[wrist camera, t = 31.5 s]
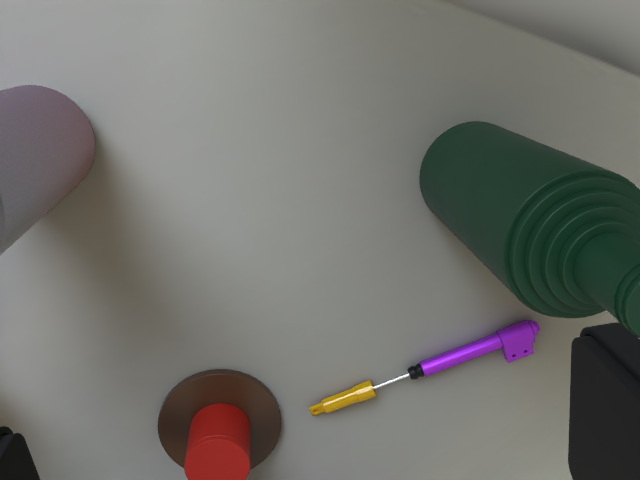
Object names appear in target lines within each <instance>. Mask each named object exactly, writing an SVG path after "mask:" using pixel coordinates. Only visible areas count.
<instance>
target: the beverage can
mask: <svg viewBox="0 0 640 480" xmlns="http://www.w3.org/2000/svg"><path fill="white" fill-rule="evenodd" d="M94 157H95V137H94V133H93V130H92V127H91V124H90V122H89V120H88V119H87V117H86V115H85V114H84V113H83V111H82V110H81V109H80V108H79V107H78V106H77V105H76V104H75V103H74V102H73V101H72V100H71V99H69V98H68V97H67V96H65V95H63V94H62V93H60V92H58V91H55V90H53V89H50V88H47V87H43V86H36V85H24V86H18V87H14V88H10V89H6V90H2V91H0V255H1V254H2V253H3V252H4V251H5V250H7V249H8V248H9V247H10V246H11V245H12V244H13V243H14V242H15V241H16V240H18V239H19V238H20V237H21V236H22V235H23V234H24V233H25V232H26V231H27V230H29V229H30V228H31V227H32V226H33V225H34V224H35V223H36V222H37V221H38V220H39V219H41V218H42V217H43V216H44V215H45V214H46V213H47V212H48V211H49V210H50V209H52V208H53V207H54V206H55V205H56V204H57V203H58V202H59V201H60V200H61V199H63V198H64V197H65V196H66V195H67V194H68V193H69V192H70V191H71V190H72V189H74V188H75V187H76V186H77V185H78V184H79V183H80V182H81V181H82V180H83V179H84V178H85V177H86V175H87V174H88V172H89V171H90V169H91V167H92V164H93V161H94Z"/></svg>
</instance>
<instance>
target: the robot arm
mask: <svg viewBox="0 0 640 480" xmlns="http://www.w3.org/2000/svg"><path fill="white" fill-rule="evenodd" d="M568 463H569V469H570V472H571V475H572V478H573V480H640V339H638V338H637V337H636V336H635V335H634V334H633V333H631V332H630V331H629V330H628V329H627V328H626V327H624V326H623V325H622V324H620V323H609V324H604V325H598V326H592V327H586V328H584V329H583V330H582V331H581V334H580V337H578V338H575V339H574V340H573V342H572V351H571V385H570V419H569V453H568ZM0 480H40V478H39V475H38V473H37V470H36V467H35V465H34V462H33V460H32V457H31V454H30V452H29V449H28V446H27V444H26V441H25V439H24V437H23V436H22V435H21V434H19V433H15V434H13V432H12V430H11V429H10V428H9V427H5V426H3V427H0Z"/></svg>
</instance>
